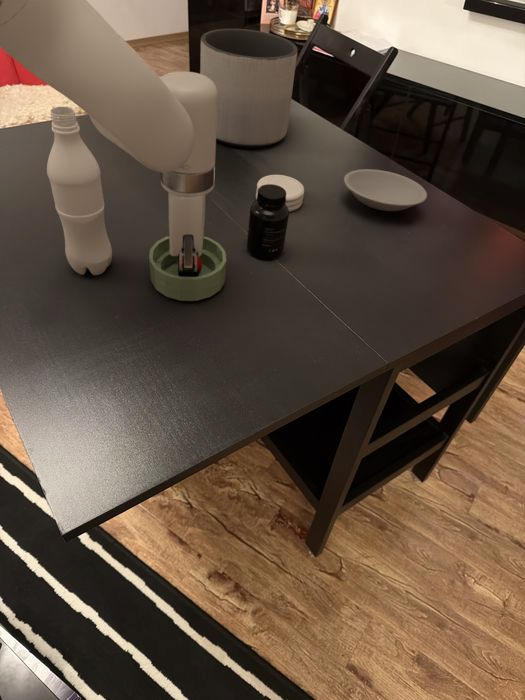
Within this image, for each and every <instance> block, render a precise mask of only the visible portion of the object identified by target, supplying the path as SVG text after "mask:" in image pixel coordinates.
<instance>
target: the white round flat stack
mask: <svg viewBox="0 0 525 700" xmlns="http://www.w3.org/2000/svg"><path fill="white" fill-rule="evenodd" d="M266 184H273V185H277V186H280V187H282V188H283V189H285V191H286V203H285V204H286V206H287V207H288V209H289V213H290V212H294V211H296V210H298V209H300V208H301V206H302V205H303V200H304V194H305V187H304V185H303V184H302V182H300V181H299V180H297V179H296V178H293V177H291V176H288V175H283V174H269V175H265V176H263V177H261V178H260V179H259V180H258V181H257V184H256V190H255V192H256V193H255V199H256V200H257V195H258V189H259V188H260V187H261V186H263V185H266Z"/></svg>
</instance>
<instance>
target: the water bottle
mask: <svg viewBox="0 0 525 700" xmlns="http://www.w3.org/2000/svg"><path fill="white" fill-rule="evenodd" d="M50 116H51V117H50V119H51V131H52V132H53V136H54V137H53V144H52V147H51V150H50V152H49V155H48V159H47V164H46V173H47V174H46V175H47V178H48V179H49V183H50V184H49V185H50V189H51V193H52V197H53V201H54V208H55V210H56V212H57V214H58V217H59V219H60V223H61V226H62V230H63V236H64V252H65V257H66V260H67V262H68V265H70V267H71V268H72V269H73V271H75V272H76V273H77V274H78V275H82V276H83V275H85V274H86V273H87V271H89V272H90V273H91V275H92V276H99V275H102V274H103V273H104V272H105V271H106V270H107V267H110V265H111V263H112V260H113V248H112V244H111V242H110V239H109V235H108V233H107V229H106V224H105V223H106V222H105V204H106V203H105V201H104V200H105V199H104V193H103V186H102V180H101V168H100V166H99V162H98V161H97V159H96V157H95V156H94V154H92V152H91V151H90V149H89V148H88V147H87V145H86V144H85V142H84V141H83V139H82V137H81V135H80V131H81V128H80V125H79V122H78V121H77V115H76V112H75V109H73V108H72V107H70V106H55V107H53V108H51V109H50Z"/></svg>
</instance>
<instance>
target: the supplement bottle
mask: <svg viewBox="0 0 525 700" xmlns="http://www.w3.org/2000/svg"><path fill="white" fill-rule="evenodd" d="M285 203H286V191H285V189H283V188H282V187H280V186H277V185H273V184H266V185H263V186H261V187H260V188H259V189H258V195H257V199H256V200H254V201H253V202H252V204H251V205H250V208H249V216H248V228H247V239H246V249H247V251H248V253H249V254H250V255H251V256H253V257H254V258H256V259H259V260H263V261H272V260H275V259H277V258H279V257H280V256H281V255H282V254H283V251H284V247H285V241H286V236H287V230H288V225H289V223H288V222H289V217H290V212H289V209H288V207H287V206H286V204H285Z"/></svg>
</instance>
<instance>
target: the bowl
mask: <svg viewBox="0 0 525 700" xmlns="http://www.w3.org/2000/svg"><path fill="white" fill-rule="evenodd" d="M148 255H149V256H148V265H149V276H150V282H151V284H152V286H153V287H154V289H155V290H156V291H157V292H159V293H160V294H161V295H163V296H164V297H166V298H168V299H173V300H177V301H181V302H196V301H200V300H205V299H209V298H211V297H212V296H214V295H216V294H217V293H218V292H220V291H221V290H222V288H223V286H224V285H225V283H226V273H227V252H226V250H225V249H224V248H223V246H222V245H221V244H220V243H219V242H217V241H216V240H214V239H212V238H210V237H208V236H205V235H204V237H203V247H202V254H201V255H200V256H199V258H200V259H201V261H202V270H201V272H200V273H199V276H197V277H180V276H178V261H179V255H178V256H171V255H170V242H169V235H167V236H165V237H163V238H161V239H159V240H157V241H156V242H154V244H153V245H152V246H151V248H150V249H149V254H148Z"/></svg>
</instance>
